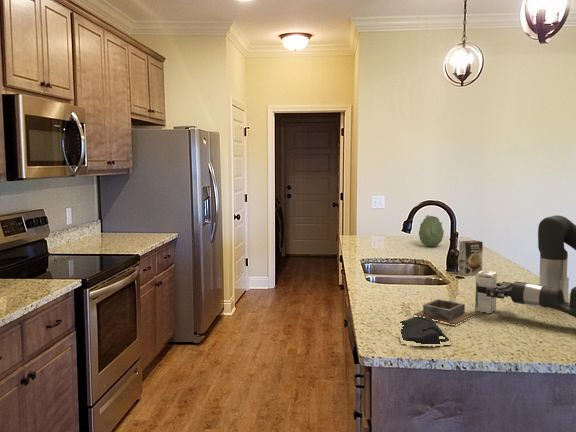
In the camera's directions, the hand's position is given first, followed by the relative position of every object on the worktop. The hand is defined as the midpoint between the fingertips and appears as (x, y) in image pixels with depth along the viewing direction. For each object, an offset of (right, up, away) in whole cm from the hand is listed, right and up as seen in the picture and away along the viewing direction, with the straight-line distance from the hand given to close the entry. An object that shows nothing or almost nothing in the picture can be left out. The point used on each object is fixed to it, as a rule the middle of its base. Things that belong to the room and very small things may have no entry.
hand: (482, 286), depth 181 cm
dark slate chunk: (-29, -13, -22) cm, 38 cm away
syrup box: (+1, -9, 0) cm, 9 cm away
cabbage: (+21, +6, +136) cm, 138 cm away
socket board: (-16, -10, -5) cm, 19 cm away
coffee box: (+17, -3, +58) cm, 61 cm away
